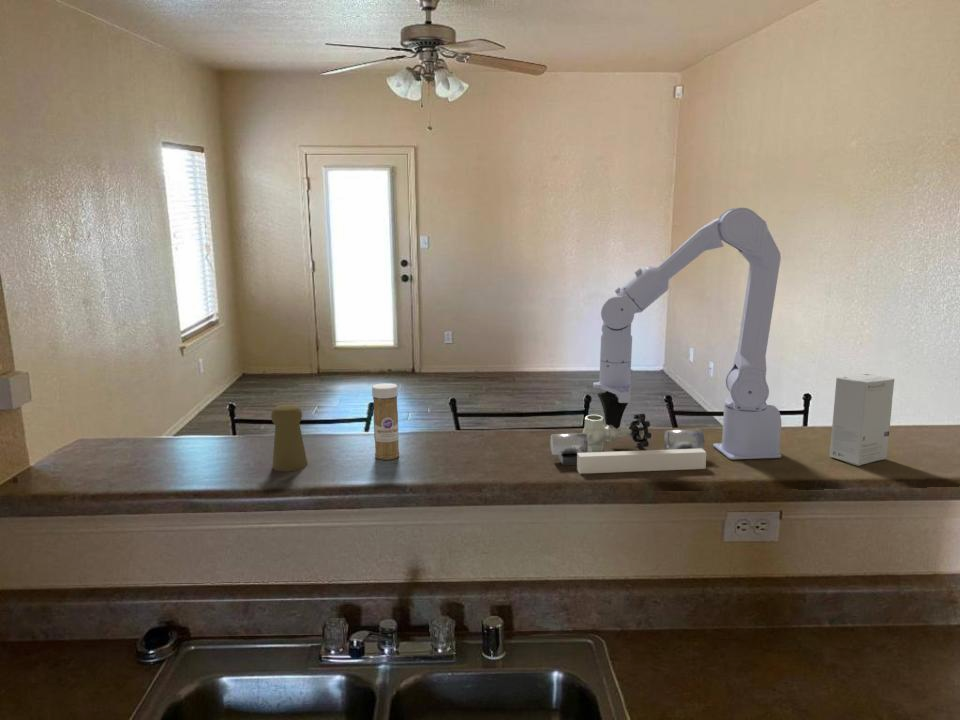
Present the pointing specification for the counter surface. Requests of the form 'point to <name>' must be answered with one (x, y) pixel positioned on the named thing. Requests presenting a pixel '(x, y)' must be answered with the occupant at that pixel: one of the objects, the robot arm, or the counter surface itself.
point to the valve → (614, 432)
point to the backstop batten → (641, 460)
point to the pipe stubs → (578, 443)
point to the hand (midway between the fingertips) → (612, 430)
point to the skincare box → (861, 418)
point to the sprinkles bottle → (385, 421)
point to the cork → (288, 439)
